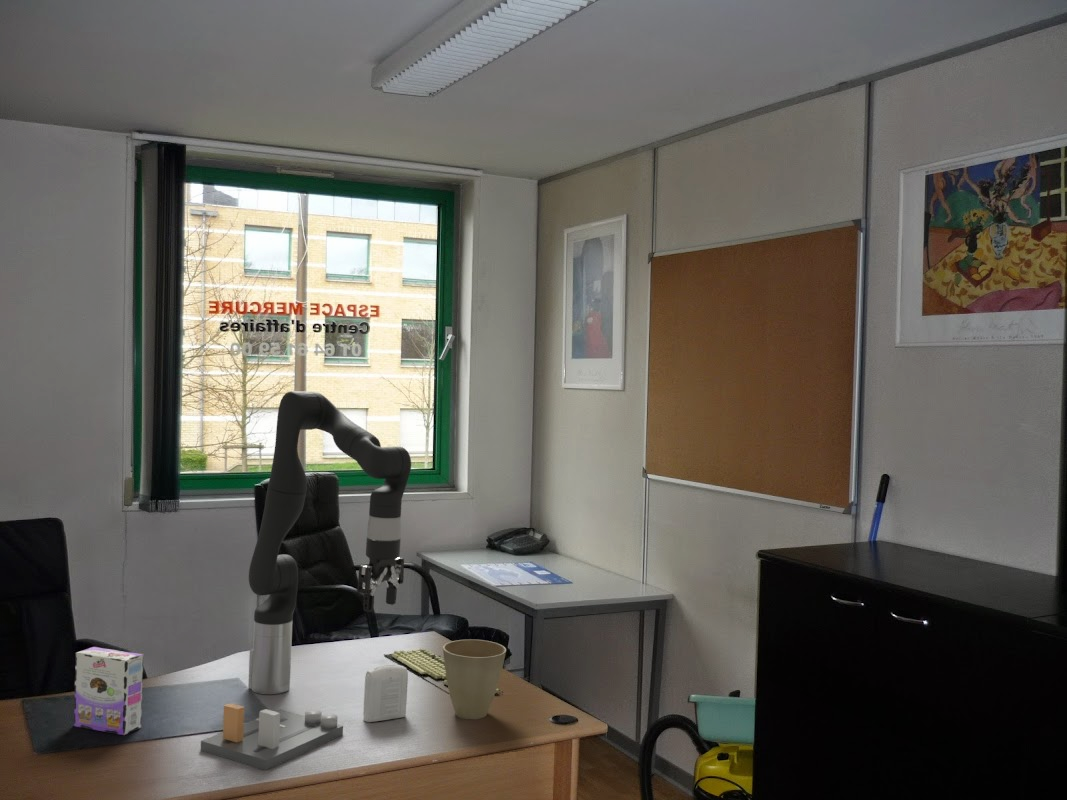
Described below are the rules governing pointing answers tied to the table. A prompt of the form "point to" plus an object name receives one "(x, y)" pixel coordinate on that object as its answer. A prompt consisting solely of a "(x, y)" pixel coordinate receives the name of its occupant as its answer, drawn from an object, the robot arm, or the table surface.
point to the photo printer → (385, 693)
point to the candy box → (108, 690)
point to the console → (276, 737)
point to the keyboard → (422, 664)
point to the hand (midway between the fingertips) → (379, 607)
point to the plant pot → (473, 675)
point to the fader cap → (233, 722)
